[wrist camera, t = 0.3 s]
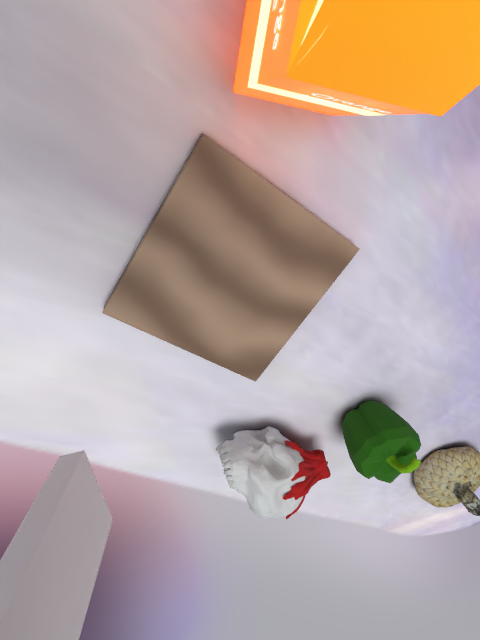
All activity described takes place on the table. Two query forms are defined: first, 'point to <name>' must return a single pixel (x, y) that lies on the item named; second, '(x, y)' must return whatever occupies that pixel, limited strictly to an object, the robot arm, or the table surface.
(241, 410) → the table surface
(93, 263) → the table surface
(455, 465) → the acorn cap
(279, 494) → the white red rounded lump
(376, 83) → the orange juice
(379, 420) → the bell pepper
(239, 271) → the board
